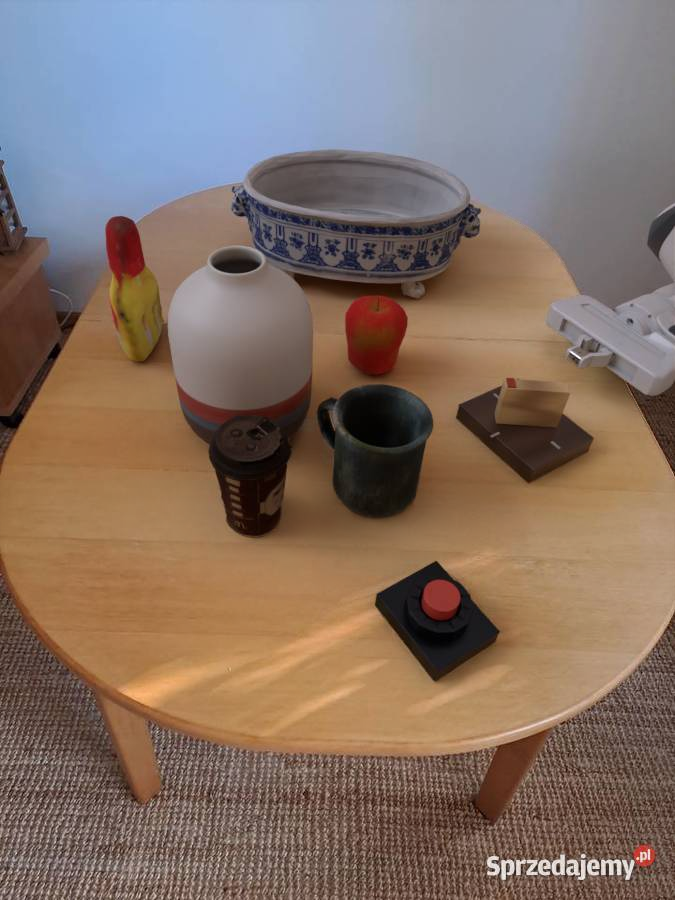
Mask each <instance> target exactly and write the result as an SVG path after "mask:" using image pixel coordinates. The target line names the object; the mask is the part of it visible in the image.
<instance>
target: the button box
mask: <svg viewBox="0 0 675 900" xmlns="http://www.w3.org/2000/svg"><path fill="white" fill-rule="evenodd" d="M434 580H445V581H448V582H450V583H452V584H453V585H454V586H455V587H456V588H457V589H458V591H459V593H460V603H459V606H458V609H457V612H456V614H455V615H454V616H453V617H452V618H450V619H448V620H444V621H439V620H435V619H432V618H431V617H429V616H428V615H427V614H426V613H425V612H424V610H423V608H422V605H421V601H422V596H423V592H424V589H425V587H426V585H427V584H428V583H430V582H432V581H434ZM374 606H375V607H376V609H377V610H378V611H379V612H380V614H381V615H382V616H383V618H384V619H385V621H386V622H387V623H388V624H389V625H390V627H391V628H392V629H393V631H394V632H395V633H396V634H397V636H398V637H399V638H400V640H401V641H402V643H404V645H405V646H406V647H407V649H408V650H409V652H410V653H411V654H412V655H413V656H414V658H415V659H416V660H417V662H418V663H419V664H420V665H421V667H422V668H423V669H424V671H425V672H426V673H427V675H428V676H429V677H430V678H431V679H432V681H433V682H434V683H435V682H437V681H439V680H440V679H441V678H443V677H444V676H446V675H448V674H449V673H451V672H452V671H454V670H455V669H457V668H458V667H460V666H461V665H463V664H464V663H466V662H467V661H469V660H471V659H472V658H474V657H475V656H477V655H478V654H479V653H482V652H483V651H485V650H486V649H487V648H489V647H490V646H492V645H493V644H495V643H496V642H497V640H498V637H499V635H500V632H501V631H500V630H499V628H498V627H497V626H496V625H495V624H494V623H493V621H491V620H490V619H489V617H488V616H487V615H486V614H485V613H484V611H482V610H481V609H480V607H479V606H478V605H477V604H476V603H475V602H474V600H473V599H472V595H471V593H470V592H468V590H467V589H466V588H465V587H464V586H463V584H462V583H461V582H460V581H458V580H455V579H454V578H453V576H451V575H450V574H449V572H448V571H447V570H446V569H445V568H444V567H443V566H442V565H441V563H440V562H439V561H438V560H434V561H433V562H430V563H429V564H427V565H426V566H424V567H422V568H420V569H418V570H417V571H415V572H413V573H411V574H409V575H408V576H406V577H404V578H402V579H400V580H398V581H397V582H395V583H393V584H392V585H390V586H388V587H386V588H385V589H383V590H381V591H379V592H377V593H376V594H375V601H374Z"/></svg>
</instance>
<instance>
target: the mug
mask: <svg viewBox="0 0 675 900" xmlns="http://www.w3.org/2000/svg"><path fill="white" fill-rule="evenodd" d="M330 411H331V412H332V418H331V415H330ZM316 418H317V419H316V420H317V425H318V428H319V431H320V434H321V436H322V438H323V440H324V441H325V443H326V444H327V446H329V447H330V448H331V449H332V450H333V465H332V466H333V467H332V488H333V491H334V493H335V495H336V497H337V498H338V499H339V501H341V502H342V504H343V505H344V506H345V507H347V508H348V509H350V510H351V511H353V512H355V513H356V514H360V515H362V516H366V517H372V518H386V517H390V516H394V515H397V514H399V513H401V512H403V511H404V510H406V509H407V508H408V507H410V506H411V505H412V503H413V502H414V500H415V499H416V495H417V491H418V485H419V481H420V476H421V471H422V466H423V462H424V455H425V450H426V445H427V440H428V439H430V436H431V435H432V433H433V430H434V422H435V421H434V416H433V414H432V411H431V409H430V407H429V406H428V405H427V404H426V403H425V401H424V400H423V399H421V398H420V397H419V396H418V395H416V394H414V393H413V392H411V391H409V390H408V389H405V388H401V387H399V386H395V385H391V384H384V383H369V384H363V385H358V386H355V387H353V388H351V389H349V390H347V391H346V392H344V393H343V394H342V395H340V396H339V397H338V398H335V397H333V396H330V397H328V398H327V399H325V400H323V401H321V402H320V403H319V405H317V410H316ZM331 419H332V420H333V422H332V420H331ZM334 426H335V428H334Z"/></svg>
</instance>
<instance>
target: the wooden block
mask: <svg viewBox="0 0 675 900" xmlns="http://www.w3.org/2000/svg"><path fill="white" fill-rule="evenodd" d="M501 386H502V388H501V392H500V395H499V399H498V402H497V406H496V409H495V413H494V414H495V420H496V423H497V424H512V425H527V426H542V427H558V424H559V421H560V419H561V416H562V414H564V411H565V408H566V406H567V404H568V400H569V398H570V395H571V389H570V385H569V383H568V382H567V381H566V382H565V381H550V380H535V379H520V378H519V379H518V378H514V377H506V378H505V377H504V378H503V382H502V385H501Z"/></svg>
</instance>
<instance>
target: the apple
mask: <svg viewBox="0 0 675 900" xmlns="http://www.w3.org/2000/svg"><path fill="white" fill-rule="evenodd" d="M344 319H345V320H344V321H345V323H344V324H345V325H344V326H345V327H344V330H345V338H346V343H347V359H348V361H349V362H350V364H351V365H352V366H353V367H355V368H356V369H357V370H359V372H362V373H363V374H366V375H368V376H377V375H378V376H379V375H382V374H385V373H387V372H389V371H392V370H393V369H394V367H395V366H396V364H397V362H398V356H399V352H400V348H401V345H402V343H403V341H404V339H405V337H406V332H407V330H408V329H407V328H408V319H409V316H408V315H407V313H406V310H405V309H404V308H403V306H401V304H399V303H398V302H397V301H395V300H394V299H392V298H389V297H387V296H383V295H374V294H373V295H364V296H360V297H358V298H356V299H355V300H354V301H353V302H352V303H351V304H350V305H349V307H348V309H347V311H346V312H345V318H344Z"/></svg>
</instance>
